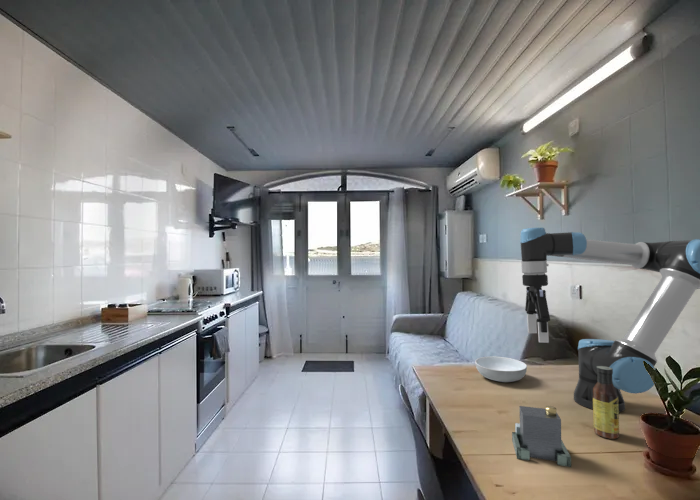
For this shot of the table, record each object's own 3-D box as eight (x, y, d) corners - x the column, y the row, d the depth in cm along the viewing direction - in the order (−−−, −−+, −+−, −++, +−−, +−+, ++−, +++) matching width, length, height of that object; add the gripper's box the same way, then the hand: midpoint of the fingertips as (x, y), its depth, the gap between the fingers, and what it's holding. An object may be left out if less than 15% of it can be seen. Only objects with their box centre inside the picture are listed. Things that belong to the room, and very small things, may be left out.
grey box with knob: (523, 456, 94) (522, 408, 94) (520, 444, 99) (519, 400, 99) (561, 462, 91) (560, 413, 91) (555, 450, 96) (555, 404, 97)
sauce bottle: (620, 442, 100) (619, 372, 100) (594, 436, 103) (592, 369, 104) (617, 432, 106) (616, 366, 106) (592, 427, 109) (591, 363, 109)
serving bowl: (471, 370, 165) (470, 355, 165) (517, 371, 162) (517, 357, 162) (481, 386, 144) (481, 369, 144) (535, 388, 141) (534, 371, 141)
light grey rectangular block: (541, 440, 101) (541, 426, 102) (543, 444, 99) (543, 430, 99) (515, 436, 104) (515, 423, 104) (516, 440, 101) (516, 426, 101)
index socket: (561, 447, 98) (560, 438, 98) (571, 467, 88) (571, 457, 89) (512, 440, 101) (512, 431, 101) (517, 458, 92) (517, 449, 92)
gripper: (559, 275, 104) (563, 347, 104) (536, 271, 128) (539, 329, 128) (532, 276, 106) (535, 346, 105) (514, 272, 130) (517, 329, 130)
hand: (537, 337), depth 117 cm, fingers open, 13 cm apart
